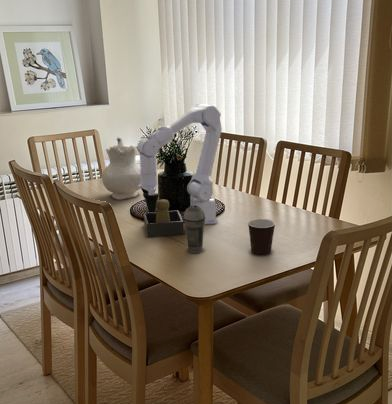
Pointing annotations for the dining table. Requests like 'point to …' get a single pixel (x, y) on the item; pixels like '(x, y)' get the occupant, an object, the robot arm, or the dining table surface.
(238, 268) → the dining table surface
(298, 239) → the dining table surface
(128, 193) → the ceramic pitcher
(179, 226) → the bin
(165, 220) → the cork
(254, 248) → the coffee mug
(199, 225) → the beverage cup
